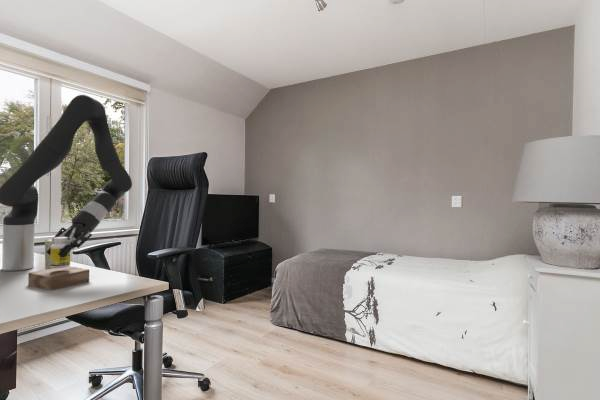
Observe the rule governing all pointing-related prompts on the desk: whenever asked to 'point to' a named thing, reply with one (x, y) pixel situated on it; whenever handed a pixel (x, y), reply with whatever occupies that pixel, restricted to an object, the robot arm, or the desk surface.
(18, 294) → the desk surface
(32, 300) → the desk surface
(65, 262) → the supplement bottle
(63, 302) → the desk surface
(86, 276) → the walnut plinth
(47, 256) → the skincare box
